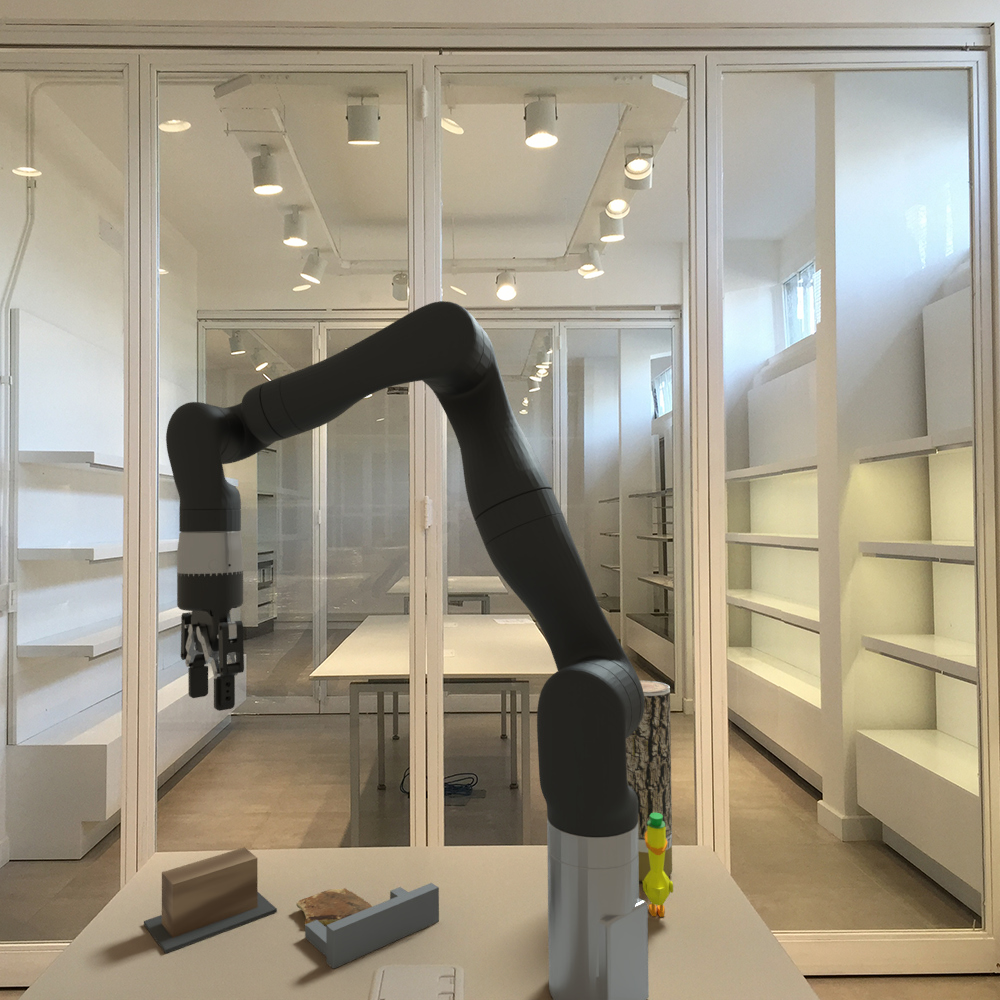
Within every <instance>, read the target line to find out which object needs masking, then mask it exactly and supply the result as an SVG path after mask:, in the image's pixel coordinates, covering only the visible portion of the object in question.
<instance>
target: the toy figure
mask: <svg viewBox="0 0 1000 1000" xmlns="http://www.w3.org/2000/svg"><path fill="white" fill-rule="evenodd" d="M662 819H663V815H662V814H661V813H656V812H655V813H651V814H650V820H649V821H648V822H647V824H648V826H647V831H646V833H645V843H646V847H647V848H648V853H649V861H650V869H651V870H650V871H649V873H648V874H647V876H646V877H645V879H644V880H643V882H642V891H643V892H644V893H645V895H646V897H647V898H648V900H649V902H650V904H648V913H650V916H651V917H657V915H658V916H659V917H660V918H664V917H665V912H666V908H665V905H664V904H665V902H666V901H667V899H668V898H669V896H670V894H672V893H674V883H673V882H674V881H672V880H671V879H670V878H669V877H668V876H667V875H666V873H665V872H664V871H663V868H664V859H665V850H666V848H667V843H668V842H667V839H666V827H665V822H664V821H662Z"/></svg>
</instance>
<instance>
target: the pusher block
mask: <svg viewBox="0 0 1000 1000" xmlns="http://www.w3.org/2000/svg"><path fill="white" fill-rule="evenodd" d="M258 892H259V891H258V857H257V856H256V855H254V853H252V852H251V851H250V850H249V849H247V847H240V848H238V849H234V850H231V851H227V852H224V853H221V854H218V855H215V856H211V857H207V858H205V859H204V858H203V859H200V860H198V861H194V862H191V863H188V864H184V865H181V866H179V867H175V868H172V869H168V870H164V871H162V872H161V915H162V925H163V926H164V927H165V928H166V930H167V931H168V932H169V934H170V935H171V936H172V938H174V937H176V936H179V935H182V934H185V933H187V932H190V931H193V930H196V929H199V928H201V927H204V926H207V925H210V924H212V923H215V922H218V921H221V920H224V919H226V918H229V917H232V916H235V915H237V914H240V913H243V912H246V911H249V910H251V909H254V908H257V907H258Z"/></svg>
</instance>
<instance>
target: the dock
mask: <svg viewBox="0 0 1000 1000" xmlns="http://www.w3.org/2000/svg"><path fill="white" fill-rule="evenodd" d="M438 922H440V887H439V886H438V885H436V884H434V883H433V882H430V883H428V884H424V885H422V886H420V887H417V888H415V889H413V890H410V891H407V890H406V889H404V888H403V887H401V886H399V887H397V888H394V889H391V890H390V892H389V899H388V900H386V901H383V902H380V903H378V904H376V905H372V907H370V908H368V909H365V910H363V911H360V912H358V913H355V914H353V915H350V916H348V917H346V918H343V919H341V920H338V921H336V922H333V923H331V924H328V925H326V926H324V925H323V924H321V923H320V922H319V921H318V920H315V921H313V922H310V923H308V924H305V923H304V930H305V931H304V939H306V940H307V941H308V942H310V944H312V946H313V947H315V948H316V949H317V950H318V951H319V952H320V953H322V955H324V956H325V957H326V964H327V965H329V967H330V968H332V969H337V968H338V967H340V966H343V965H345V964H348V963H350V962H352V961H354V960H356V959H358V958H361V957H363V956H365V955H367V954H369V953H372V952H374V951H377V950H378V949H380V948H382V947H384V946H388V945H390V944H392V943H394V942H396V941H398V940H400V939H403V938H405V937H408V936H410V935H412V934H414V933H416V932H418V931H421V930H423V929H425V928H427V927H430V926H431V925H434V924H436V923H438Z"/></svg>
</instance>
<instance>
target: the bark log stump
mask: <svg viewBox="0 0 1000 1000" xmlns="http://www.w3.org/2000/svg"><path fill="white" fill-rule="evenodd" d="M640 683H641V685H642V688H643V692H644V703H645V707H644V713H643V717H642V720H641V722H640V724H639V726H638V727H637V729H636V730H635V731H634V732H633V733H632V734H631V735H630V736H629V737H628V738H626V765H627V783H628V785H629V786H630V787H631V788H632V789H633V790H634V791H635V793H636V795H637V799H638V847H639V849H638V855H639V883H640V882H641V883H643V880H644V879H645V877H646V876H647V874H648V873H649V871H650V870H651V869H650V861H649V853H648V848H647V847H646V843H645V833H646V831H647V826H648V824H647V822H648V821H649V820H650V814H651V813H655V812H656V813H661V814H662V815H663V819H662V821H664V822H665V827H666V839H667V842H668V843H667V848H666V850H665V859H664V868H663V871H664V872H665V873H666V875H667V876H668V878H669V877H671V875H672V872H673V822H672V821H673V817H672V814H673V812H672V810H673V809H672V808H673V807H672V805H673V804H672V802H673V801H672V800H673V799H672V746H671V745H672V741H671V740H672V739H671V737H672V736H671V735H672V734H671V729H672V728H671V727H672V726H671V690H670V688H671V687H670V685H669V684H666V683H665V682H659V681H652V680H640Z"/></svg>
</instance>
